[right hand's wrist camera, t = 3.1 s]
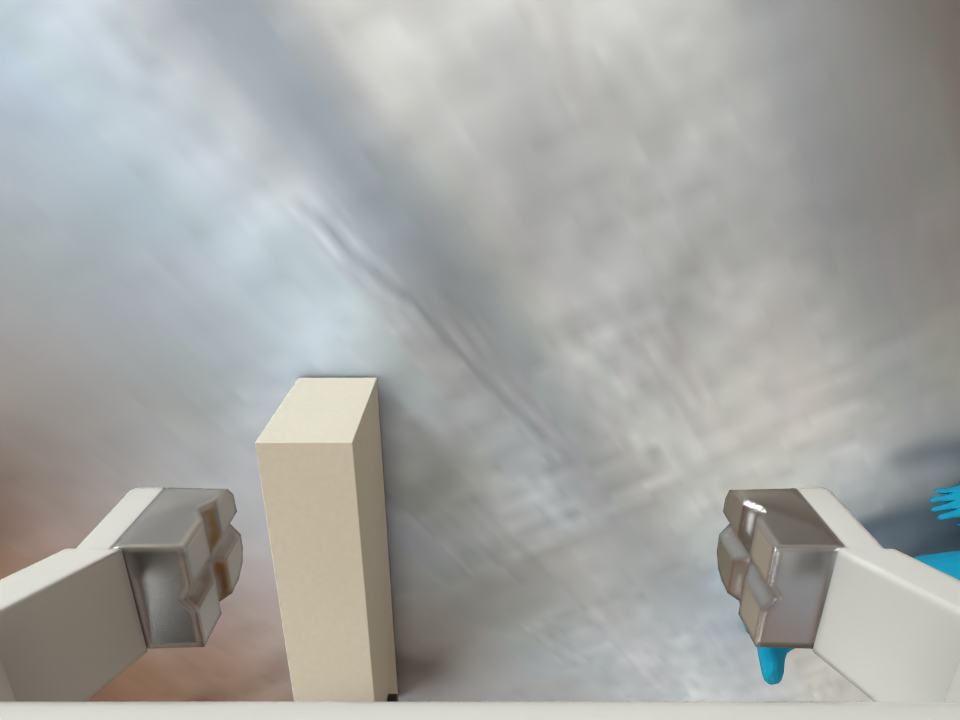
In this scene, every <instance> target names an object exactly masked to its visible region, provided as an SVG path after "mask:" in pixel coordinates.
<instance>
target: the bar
mask: <svg viewBox="0 0 960 720" xmlns="http://www.w3.org/2000/svg"><path fill="white" fill-rule="evenodd" d="M255 444H256V451H257V458H258V464H259V471H260V478H261V484H262V491H263V498H264V504H265V511H266V517H267V524H268V531H269V537H270V544H271V551H272V557H273V564H274V571H275V577H276V584H277V591H278V597H279V604H280V611H281V617H282V624H283V631H284V637H285V644H286V651H287V657H288V664H289V671H290V677H291V684H292V691H293V697H294V702H387V698H388V694H398V687H397V672H396V657H395V642H394V627H393V612H392V597H391V582H390V567H389V552H388V537H387V522H386V507H385V492H384V477H383V462H382V447H381V432H380V417H379V402H378V387H377V378H298V380H297V381H296V383H295V384H294V385H293V387H292V388H291V390H290V391H289V393H288V394H287V396H286V397H285V399H284V400H283V402H282V403H281V405H280V406H279V408H278V409H277V411H276V412H275V414H274V415H273V417H272V418H271V420H270V421H269V423H268V424H267V426H266V427H265V429H264V430H263V432H262V433H261V435H260V436H259V438H258V439H257V441H256V442H255Z"/></svg>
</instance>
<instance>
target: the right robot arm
mask: <svg viewBox="0 0 960 720" xmlns="http://www.w3.org/2000/svg"><path fill="white" fill-rule="evenodd" d="M236 512H237V509H236V505H235V500H234V495H233V494H232V493H231V492H230V491H229V490H228V489H203V488H136V489H132V490H130V491H129V492H128V493H127V494H126V495H125V497H124V498H123V499H122V500H121V501H120V502H119V503H118V504H117V505H116V506H115V507H114V508H113V509H112V510H111V512H110V513H109V514H108V515H107V516H106V517H105V518H104V519H103V520H102V521H101V522H100V523H99V524H98V526H97V527H96V528H95V529H94V530H93V531H92V532H91V533H90V534H89V535H88V536H87V537H86V538H85V540H84V541H83V542H82V543H81V544H80V545H79V546H78V547H77V548H76V549H64V550H62V551H60V552H58V553H56V554H54V555H52V556H50V557H47V558H45V559H43V560H41V561H39V562H37V563H35V564H33V565H31V566H29V567H26V568H24V569H22V570H20V571H18V572H16V573H14V574H12V575H10V576H8V577H5V578H3V579H1V580H0V720H960V580H959V579H956V578H954V577H952V576H950V575H948V574H946V573H944V572H942V571H940V570H938V569H936V568H933V567H931V566H929V565H927V564H925V563H923V562H921V561H919V560H917V559H915V558H912V557H910V556H908V555H906V554H904V553H902V552H900V551H898V550H896V549H884V548H883V547H882V546H881V545H880V544H879V543H878V542H877V541H876V539H875V538H874V537H873V536H872V535H871V534H870V533H869V532H868V531H867V530H866V529H865V528H864V527H863V525H862V524H861V523H860V522H859V521H858V520H857V519H856V518H855V517H854V516H853V515H852V514H851V513H850V511H849V510H848V509H847V508H846V507H845V506H844V505H843V504H842V503H841V502H840V501H839V500H838V499H837V497H836V496H835V495H834V494H833V493H832V492H831V491H830V490H828V489H825V488H823V487H813V488H791V489H752V490H729V492H728V494H727V496H726V498H725V504H724V509H723V512H724V514H725V516H726V517H727V519H728V521H729V523H730V524H729V525H728V526H727V527H726V528H725V529H724V530H723V531H722V532H721V533H720V534H719V540H718V547H717V559H718V569H719V573H720V576H721V579H722V582H723V584H724V586H725V588H726V590H727V592H728V593H729V594H730V595H732V596H733V597H735V598H736V599H737V600H739V601H740V602H741V603H740V608H739V616H740V618H741V620H742V622H743V623H744V625H745V627H746V629H747V631H748V633H749V635H750V637H751V639H752V641H753V643H754V644H755V646H756V647H776V648H812V649H813V652H814V653H815V654H817V655H818V656H819V657H820V658H822V659H823V660H824V661H825V662H826V663H828V664H829V665H830V666H831V667H833V668H834V669H835V670H836V671H837V672H839V673H840V674H841V675H842V676H844V677H845V678H846V679H847V680H848V681H850V682H851V683H852V684H853V685H855V686H856V687H857V688H858V689H859V690H861V691H862V692H863V693H864V694H866V695H867V696H868V697H869V698H871V699H872V700H873V701H874V702H86V701H87V700H88V699H90V698H91V697H92V696H93V695H95V694H96V693H97V692H98V691H99V690H101V689H102V688H103V687H104V686H106V685H107V684H108V683H109V682H111V681H112V680H113V679H114V678H115V677H117V676H118V675H119V674H120V673H122V672H123V671H124V670H125V669H126V668H128V667H129V666H130V665H131V664H133V663H134V662H135V661H136V660H137V659H139V658H140V657H141V656H142V655H144V654H145V653H146V652H147V649H148V648H183V647H204V646H205V645H206V643H207V641H208V639H209V637H210V635H211V633H212V631H213V629H214V627H215V625H216V623H217V622H218V620H219V618H220V616H221V608H220V603H219V602H220V601H221V600H223V599H224V598H225V597H227V596H228V595H230V594H231V593H232V592H233V590H234V588H235V586H236V584H237V582H238V580H239V576H240V572H241V567H242V562H243V545H242V539H241V534H240V533H239V532H238V531H237V530H236V529H235V528H234V527H233V526H232V525H231V524H230V523H231V521H232V519H233V517H234V516H235V514H236Z"/></svg>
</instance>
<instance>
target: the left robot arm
mask: <svg viewBox="0 0 960 720" xmlns="http://www.w3.org/2000/svg"><path fill="white" fill-rule="evenodd" d="M387 702H398V694H388V698H387Z"/></svg>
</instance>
